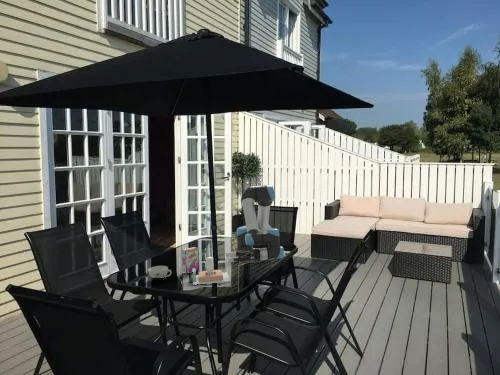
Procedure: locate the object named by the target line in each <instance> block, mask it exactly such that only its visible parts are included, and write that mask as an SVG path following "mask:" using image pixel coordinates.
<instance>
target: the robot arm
mask: <svg viewBox="0 0 500 375" xmlns="http://www.w3.org/2000/svg"><path fill="white" fill-rule="evenodd" d="M240 196H241V198H240V204H241V206H242V208H243V213H244V214H243V215H244V220H245V225H242V226H239V227H237V229H236V233H235V234H236V246H237V248H236V251H230V252H229V251H227V252H225V257H226V258H227V262H228V263H232V262H233V263H234V262H240V263H243V262H247V261H252V260H253V261H264V262H265V261H266V260H278V259H279V260H280V259H282V258H284V257H285V249H284V247H283V246H282V245H281V242H280V241H281V240H280V230H279V229H278V228H272V226H271V225H270V224H269V223H270V222H269V221H270V212H271V210H270V209H271V205H272V204H273V203H274V202H275V201H276V191H275V188H274V186H273V185H272V184H263V185H262V184H261V185H251V186H248V187H246V189H245V190H244V191H242V194H241V195H240ZM255 204H257V214H256V208H255ZM259 245H267V246H268V247H262V248H261V247H260V248H254V247H253V246H259Z"/></svg>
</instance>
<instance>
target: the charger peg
mask: <svg viewBox="0 0 500 375" xmlns="http://www.w3.org/2000/svg"><path fill="white" fill-rule="evenodd" d="M205 265H206V271H207V275H213V274H214V270H215V269H214V268H215V267H214V266H215V265H214V257H213V256H207V257H205Z"/></svg>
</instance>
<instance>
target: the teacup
mask: <svg viewBox="0 0 500 375" xmlns="http://www.w3.org/2000/svg"><path fill="white" fill-rule="evenodd" d="M147 271H148V275H149V276H150V278H151V277H152V278H164V277H165V278H167V277H170V276H171V275H172V270H171V269H169V266H166V265H155V266H152V267H149V268H148V269H147ZM168 272H170V273H169V274H168ZM152 278H151V279H152ZM165 278H164V279H165Z"/></svg>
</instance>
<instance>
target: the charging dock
mask: <svg viewBox="0 0 500 375" xmlns="http://www.w3.org/2000/svg"><path fill="white" fill-rule="evenodd" d="M192 272H193V273H192V285H197V284H207V285H213V284H212V283H217V284H225V283H226V284H227V283H231V282H232V281H231V278H230V276H229V273H228V272H227V271H226V272H223V271H222V269H214V274H213V275H207V270H202V271H200V270H199V271H198V274H197V273H196V269H195V268H192ZM197 286H198V285H197Z"/></svg>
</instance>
